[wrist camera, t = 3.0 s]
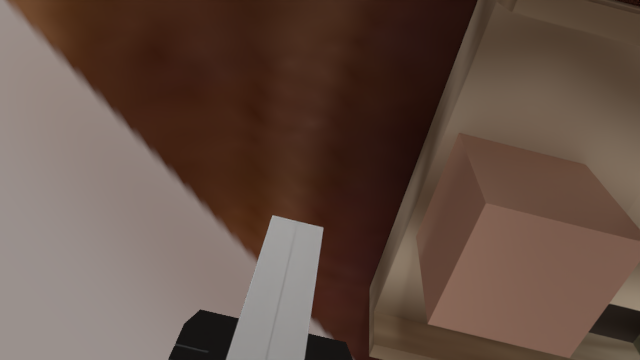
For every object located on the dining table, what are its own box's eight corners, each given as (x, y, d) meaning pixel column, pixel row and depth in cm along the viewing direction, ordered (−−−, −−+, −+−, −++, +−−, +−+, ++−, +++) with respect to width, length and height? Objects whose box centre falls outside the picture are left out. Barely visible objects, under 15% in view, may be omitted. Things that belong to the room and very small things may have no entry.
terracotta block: (458, 132, 18) (485, 203, 14) (585, 164, 18) (652, 244, 14) (416, 236, 21) (427, 324, 16) (528, 263, 21) (569, 358, 16)
